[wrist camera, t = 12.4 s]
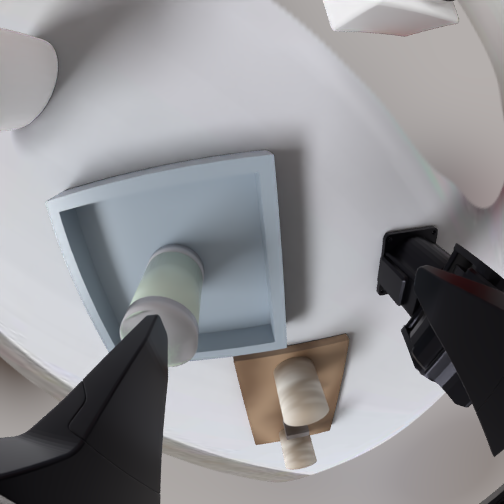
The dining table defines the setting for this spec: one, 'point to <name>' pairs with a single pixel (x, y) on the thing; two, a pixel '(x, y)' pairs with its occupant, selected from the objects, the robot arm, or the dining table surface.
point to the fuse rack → (293, 394)
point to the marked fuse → (170, 299)
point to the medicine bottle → (390, 15)
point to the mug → (24, 78)
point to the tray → (184, 233)
